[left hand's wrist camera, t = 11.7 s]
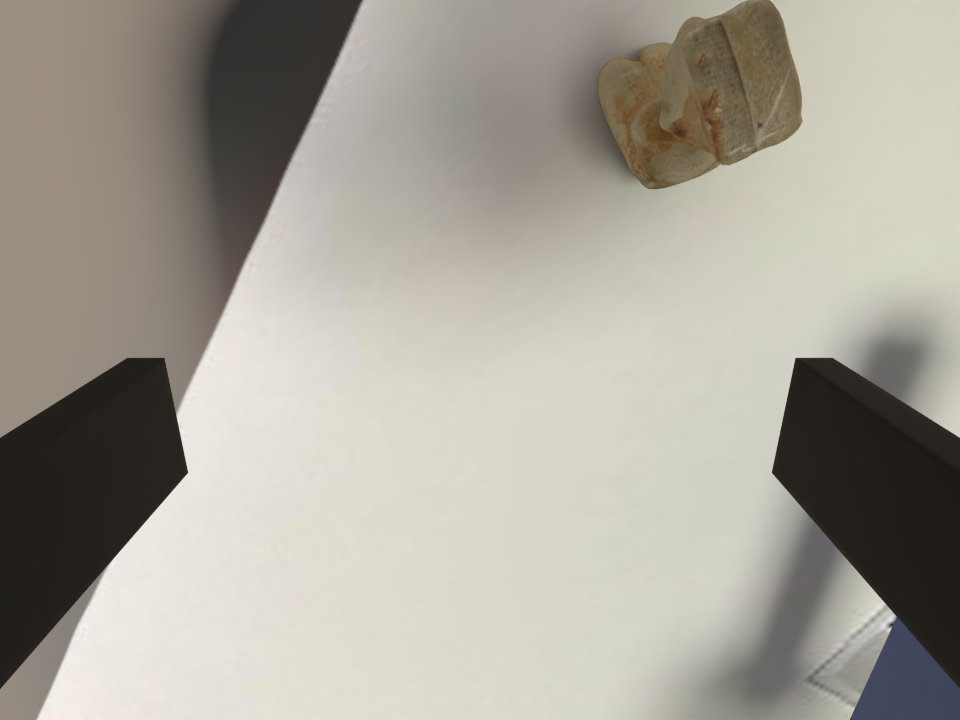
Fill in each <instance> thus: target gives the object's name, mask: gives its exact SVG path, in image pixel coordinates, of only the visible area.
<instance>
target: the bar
mask: <svg viewBox="0 0 960 720" xmlns="http://www.w3.org/2000/svg"><path fill="white" fill-rule="evenodd" d="M850 720H960V689H959V687H958V686H957V685H956V684H955V683H954V682H953V681H952V679H951V678H950V677H949V676H948V675H947V674H946V672H945V671H944V670H943V669H942V668H941V667H940V666H939V664H938V663H937V662H936V661H935V660H934V659H933V658H932V656H931V655H930V654H929V653H928V652H927V651H926V649H925V648H924V647H923V646H922V645H921V644H920V643H919V641H918V640H917V639H916V638H915V637H914V636H913V634H912V633H911V632H910V631H909V630H908V629H907V628H906V626H905V625H904V624H903V623H902V622H901V621H900V620H899V618H898V617H897V618H896V620H895V623H894V625H893V627H892V629H891V631H890V634H889V636H888V638H887V640H886V642H885V644H884V647H883V649H882V651H881V653H880V655H879V657H878V660H877V662H876V664H875V666H874V668H873V671H872V673H871V675H870V677H869V679H868V681H867V684H866V686H865V688H864V690H863V692H862V694H861V697H860V699H859V701H858V703H857V705H856V708H855V710H854V712H853V714H852V716H851V718H850Z"/></svg>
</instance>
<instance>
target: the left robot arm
mask: <svg viewBox="0 0 960 720" xmlns="http://www.w3.org/2000/svg"><path fill="white" fill-rule="evenodd" d="M187 473H188V470H187V465H186V460H185V456H184V451H183V446H182V441H181V436H180V431H179V427H178V422H177V417H176V412H175V407H174V402H173V398H172V393H171V388H170V383H169V378H168V373H167V368H166V364H165V359H164V358H127V359H125V360H124V361H122V362H120V363H119V364H117V365H116V366H114V367H112V368H111V369H109V370H108V371H106V372H104V373H103V374H101V375H100V376H98V377H96V378H95V379H93V380H92V381H90V382H89V383H87V384H85V385H84V386H82V387H81V388H79V389H77V390H76V391H74V392H73V393H71V394H69V395H68V396H66V397H65V398H63V399H61V400H60V401H58V402H57V403H55V404H54V405H52V406H50V407H49V408H47V409H46V410H44V411H42V412H41V413H39V414H38V415H36V416H34V417H33V418H31V419H30V420H28V421H26V422H25V423H23V424H22V425H20V426H19V427H17V428H15V429H14V430H12V431H10V432H9V433H7V434H6V435H4V436H3V437H1V438H0V689H1V687H2V686H3V685H4V684H5V683H6V682H7V680H8V679H9V678H10V677H11V676H12V675H13V674H14V672H15V671H16V670H17V669H18V668H19V667H20V666H21V664H22V663H23V662H24V661H25V660H26V659H27V657H28V656H29V655H30V654H31V653H32V652H33V651H34V649H35V648H36V647H37V646H38V645H39V644H40V642H41V641H42V640H43V639H44V638H45V637H46V636H47V634H48V633H49V632H50V631H51V630H52V629H53V628H54V626H55V625H56V624H57V623H58V622H59V621H60V620H61V618H62V617H63V616H64V615H65V614H66V613H67V611H68V610H69V609H70V608H71V607H72V606H73V605H74V603H75V602H76V601H77V600H78V599H79V598H80V597H81V595H82V594H83V593H84V592H85V591H86V590H87V588H88V587H89V586H90V585H91V584H92V583H93V581H94V580H95V579H96V578H97V577H98V576H99V575H100V573H101V572H102V571H103V570H104V569H105V568H106V567H107V565H108V564H109V563H110V562H111V561H112V560H113V559H114V557H115V556H116V555H117V554H118V553H119V552H120V550H121V549H122V548H123V547H124V546H125V545H126V544H127V542H128V541H129V540H130V539H131V538H132V537H133V535H134V534H135V533H136V532H137V531H138V530H139V529H140V527H141V526H142V525H143V524H144V523H145V522H146V521H147V519H148V518H149V517H150V516H151V515H152V514H153V512H154V511H155V510H156V509H157V508H158V507H159V506H160V504H161V503H162V502H163V501H164V500H165V499H166V497H167V496H168V495H169V494H170V493H171V492H172V491H173V489H174V488H175V487H176V486H177V485H178V484H179V483H180V481H181V480H182V479H183V478H184V477H185V476H186V474H187ZM772 473H773V474H774V476H775V477H776V478H777V479H778V480H779V481H780V483H781V484H782V485H783V486H784V487H785V488H786V489H787V491H788V492H789V493H790V494H791V495H792V496H793V497H794V499H795V500H796V501H797V502H798V503H799V504H800V506H801V507H802V508H803V509H804V510H805V511H806V512H807V514H808V515H809V516H810V517H811V518H812V519H813V521H814V522H815V523H816V524H817V525H818V526H819V527H820V529H821V530H822V531H823V532H824V533H825V534H826V535H827V537H828V538H829V539H830V540H831V541H832V542H833V544H834V545H835V546H836V547H837V548H838V549H839V550H840V552H841V553H842V554H843V555H844V556H845V557H846V559H847V560H848V561H849V562H850V563H851V564H852V565H853V567H854V568H855V569H856V570H857V571H858V572H859V573H860V575H861V576H862V577H863V578H864V579H865V580H866V582H867V583H868V584H869V585H870V586H871V587H872V588H873V590H874V591H875V592H876V593H877V594H878V595H879V597H880V598H881V599H882V600H883V601H884V602H885V603H886V605H887V606H888V607H889V608H890V609H891V610H892V611H893V613H894V614H895V615H896V616H897V617H898V618H899V620H900V621H901V622H902V623H903V624H904V625H905V626H906V628H907V629H908V630H909V631H910V632H911V633H912V634H913V636H914V637H915V638H916V639H917V640H918V641H919V643H920V644H921V645H922V646H923V647H924V648H925V649H926V651H927V652H928V653H929V654H930V655H931V656H932V658H933V659H934V660H935V661H936V662H937V663H938V664H939V666H940V667H941V668H942V669H943V670H944V671H945V672H946V674H947V675H948V676H949V677H950V678H951V679H952V681H953V682H954V683H955V684H956V685H957V686H958V687H959V689H960V438H959V437H957V436H956V435H954V434H953V433H951V432H950V431H948V430H946V429H945V428H943V427H942V426H940V425H938V424H937V423H935V422H934V421H932V420H930V419H929V418H927V417H926V416H924V415H922V414H921V413H919V412H918V411H916V410H915V409H913V408H911V407H910V406H908V405H907V404H905V403H903V402H902V401H900V400H899V399H897V398H895V397H894V396H892V395H891V394H889V393H887V392H886V391H884V390H883V389H881V388H879V387H878V386H876V385H875V384H873V383H872V382H870V381H868V380H867V379H865V378H864V377H862V376H860V375H859V374H857V373H856V372H854V371H852V370H851V369H849V368H848V367H846V366H844V365H843V364H841V363H840V362H838V361H836V360H835V359H833V358H796V359H795V364H794V368H793V373H792V378H791V383H790V388H789V393H788V397H787V402H786V407H785V412H784V417H783V422H782V427H781V431H780V436H779V441H778V446H777V451H776V456H775V460H774V465H773V470H772Z"/></svg>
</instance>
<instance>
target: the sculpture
mask: <svg viewBox="0 0 960 720" xmlns="http://www.w3.org/2000/svg"><path fill="white" fill-rule="evenodd" d="M598 94H599V100H600V103H601V106H602V110H603V113H604V115H605V118H606V120H607V123H608V125H609V127H610V129H611V132H612V134H613V136H614V138H615V140H616V142H617V144H618V146H619V148H620V150H621V152H622V154H623V156H624V158H625V160H626V163H627V165H628V168H629V169H630V171H631V173H632V174H633V175H635V176H636V177H637V179H638V180H639V181H640V182H641V183H642V184H643V185H644V186H645V187H646V188H648V189H660V188H665V187H669V186H673V185H676V184H680V183H683V182H685V181H688V180H691V179H694V178H696V177H699V176H701V175H703V174H705V173H707V172H709V171H711V170H713V169H714V168H716V167H717V166H719V165H720V164H721V165H731V164H733V163H736V162H738V161H740V160H742V159H744V158H747V157H748V156H750V155H751V154H753V153H755V152H757V151H760V150H762V149H764V148H767V147H770V146H773V145H776V144H779V143H780V142H782V141H784V140H786V139H788V138H789V137H790V136H791V135H793V134H794V133H795V132H796V131H797V130H798V128H799V127H800V125H801V123H802V118H801V107H802V96H801V89H800V83H799V79H798V75H797V71H796V68H795V65H794V61H793V58H792V55H791V52H790V48H789V44H788V40H787V36H786V31H785V27H784V23H783V20H782V18H781V15H780V13H779V11H778V10H777V8H776V7H775V6H774V4H773V3H772V2H771V1H770V0H749V1H746V2H742V3H740V4H739V5H737V6H736V7H734V8H733V9H731V10H729V11H727V12H726V13H724V14H722V15H719V16H716V17H712V18H709V19H703V18H699V17H692V18H690V19H688V20H687V21H685V23H684V24H683V25H682V26H681V28H680V30H679V32H678V34H677V37H676V39H675V41H674V43H673V45H671V44H669V43H657V44H653V45H650V46H647V47H645V48H644V49H643V50H641V51H640V52H639V53H638V55H637V61H632V60H629V59H627V58H625V57H619V58H617V59H614V60H612V61H610V62H609V63H607V64H606V65H605V67H604V68H603V69H602V71H601V72H600V75H599V78H598Z"/></svg>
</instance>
